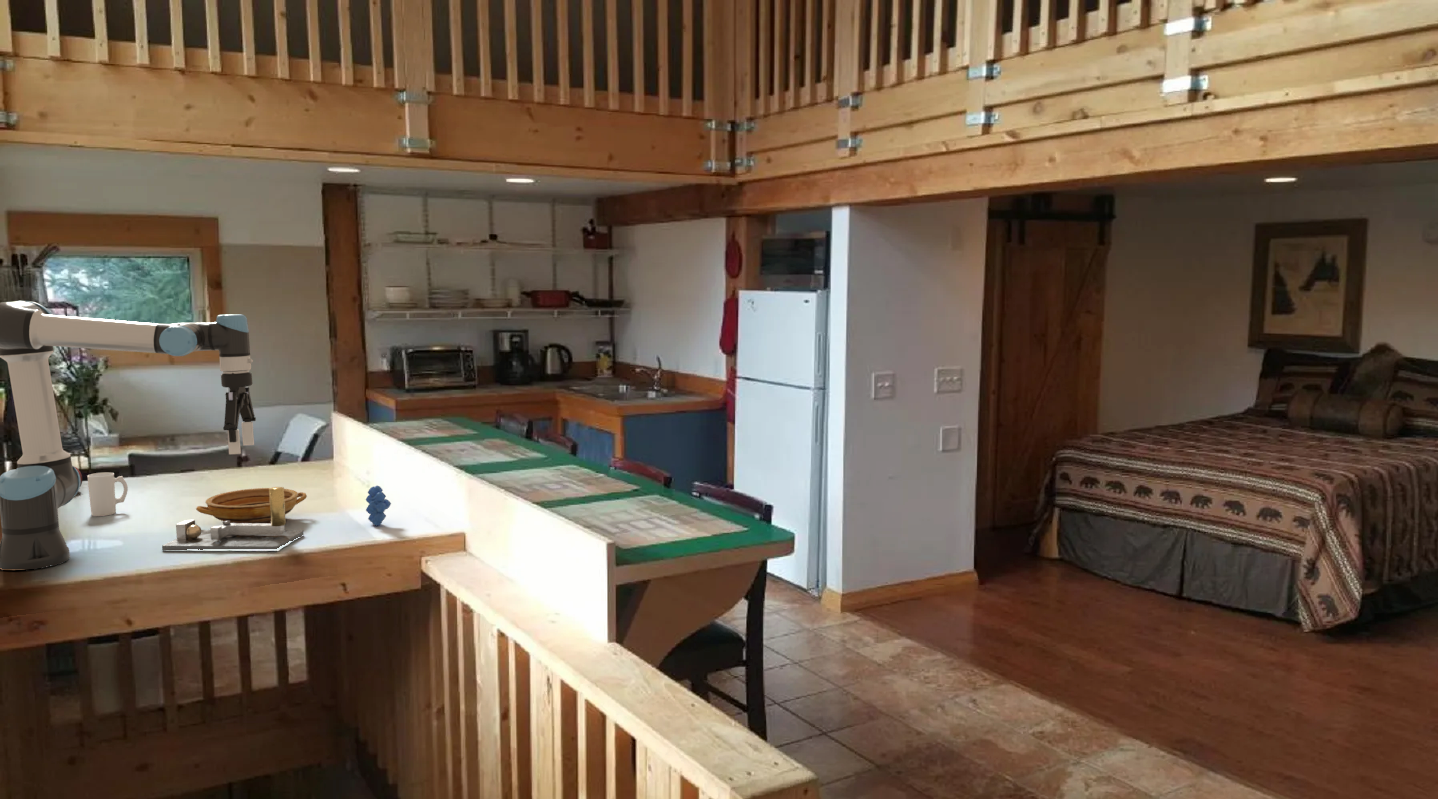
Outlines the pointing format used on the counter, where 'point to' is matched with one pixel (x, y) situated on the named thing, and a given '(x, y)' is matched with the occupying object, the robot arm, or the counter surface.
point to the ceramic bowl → (247, 505)
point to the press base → (224, 539)
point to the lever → (257, 528)
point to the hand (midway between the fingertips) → (242, 449)
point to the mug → (104, 493)
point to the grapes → (377, 505)
